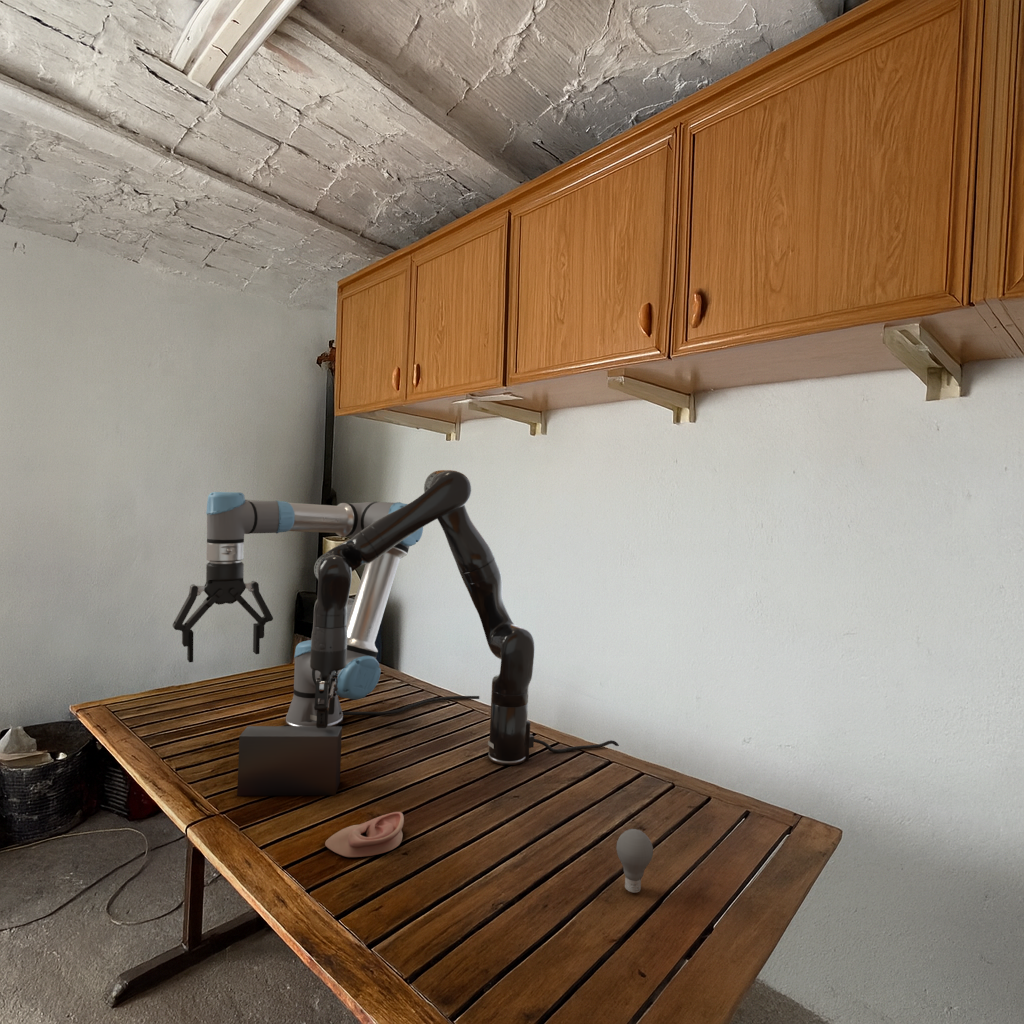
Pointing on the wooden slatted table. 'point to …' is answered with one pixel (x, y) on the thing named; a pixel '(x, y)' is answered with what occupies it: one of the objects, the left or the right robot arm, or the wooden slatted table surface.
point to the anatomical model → (368, 837)
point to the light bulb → (634, 857)
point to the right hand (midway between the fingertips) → (325, 720)
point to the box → (289, 760)
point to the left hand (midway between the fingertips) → (224, 656)
